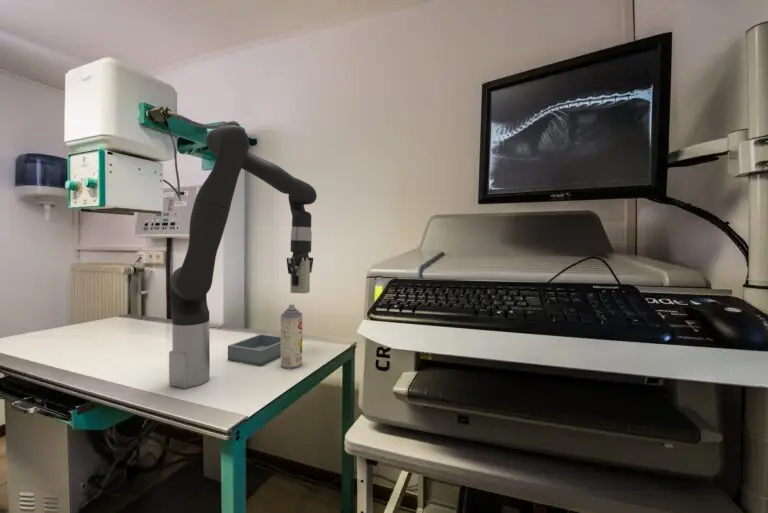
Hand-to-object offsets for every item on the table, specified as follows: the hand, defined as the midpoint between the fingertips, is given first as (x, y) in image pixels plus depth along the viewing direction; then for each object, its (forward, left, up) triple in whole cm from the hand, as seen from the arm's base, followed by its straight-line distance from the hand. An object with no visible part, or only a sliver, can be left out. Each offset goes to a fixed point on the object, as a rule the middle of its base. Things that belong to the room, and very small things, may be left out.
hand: (299, 284), depth 125 cm
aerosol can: (-14, -7, -25) cm, 29 cm away
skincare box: (0, 0, -3) cm, 3 cm away
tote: (-11, +8, -24) cm, 28 cm away
